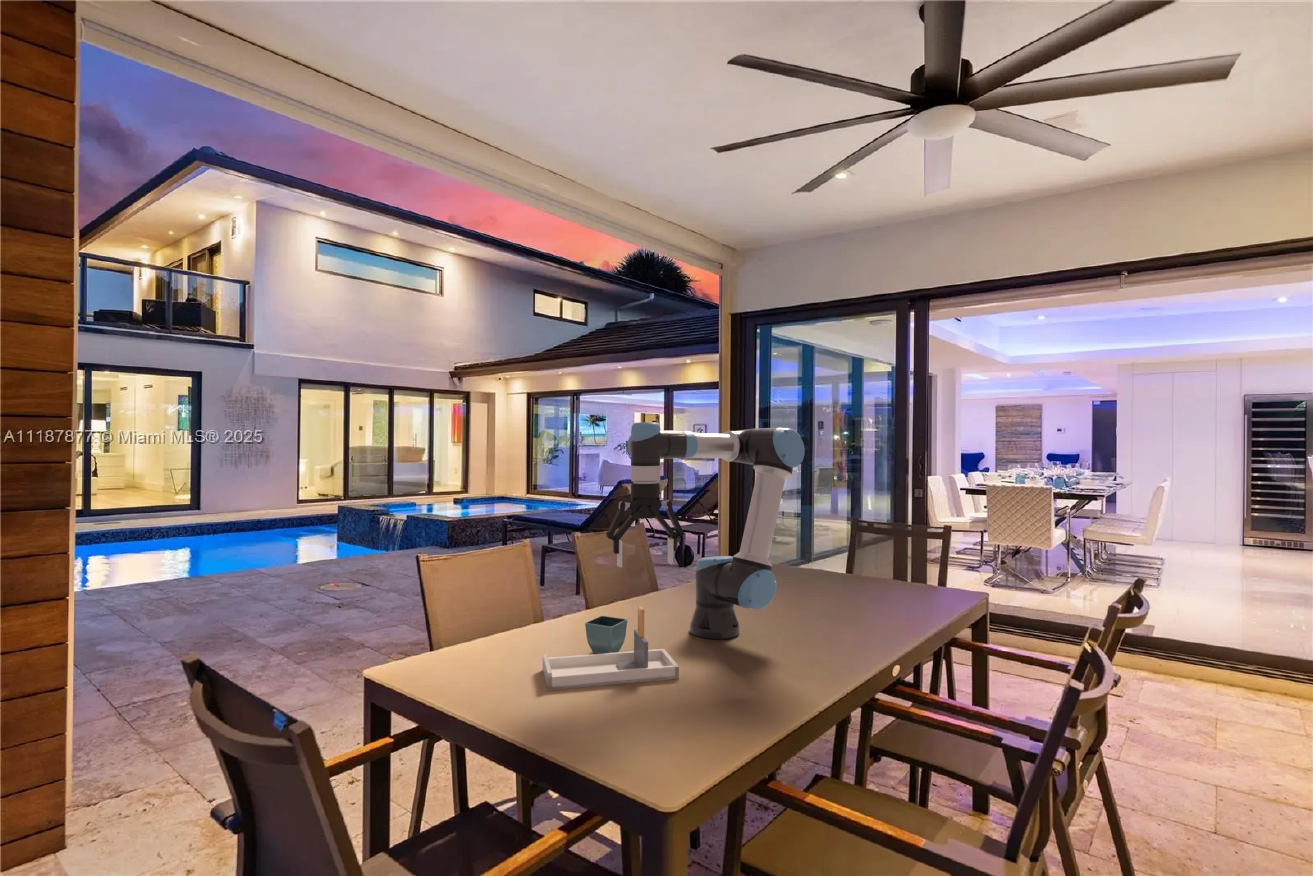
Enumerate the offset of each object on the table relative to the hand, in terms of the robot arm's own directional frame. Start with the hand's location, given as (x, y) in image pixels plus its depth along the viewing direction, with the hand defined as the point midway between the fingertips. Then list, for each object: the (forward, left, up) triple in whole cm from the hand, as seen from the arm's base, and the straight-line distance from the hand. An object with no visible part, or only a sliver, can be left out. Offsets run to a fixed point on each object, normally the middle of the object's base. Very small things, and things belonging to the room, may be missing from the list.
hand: (645, 565), depth 166 cm
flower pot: (+7, -14, -27) cm, 31 cm away
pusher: (+4, +2, -26) cm, 26 cm away
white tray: (+9, +2, -27) cm, 28 cm away
